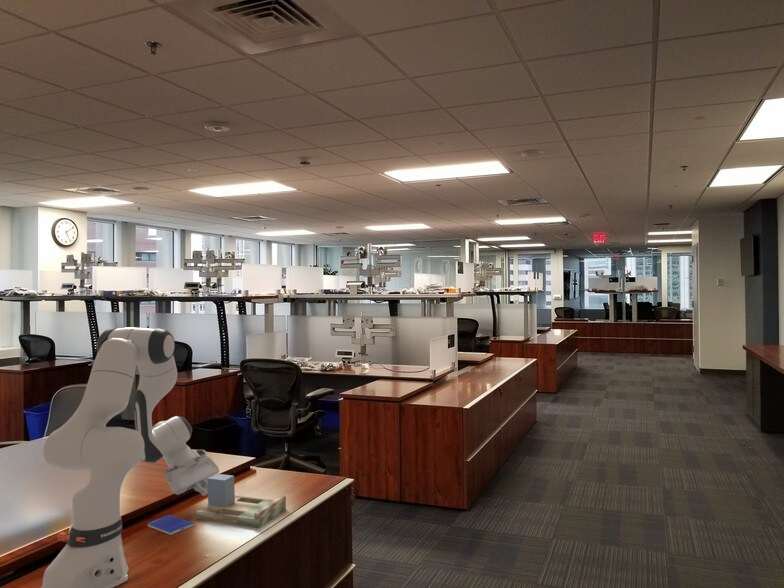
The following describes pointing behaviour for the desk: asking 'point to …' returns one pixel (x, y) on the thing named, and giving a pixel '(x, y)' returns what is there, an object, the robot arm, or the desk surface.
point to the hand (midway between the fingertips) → (207, 493)
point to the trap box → (244, 511)
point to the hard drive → (170, 524)
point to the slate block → (221, 490)
